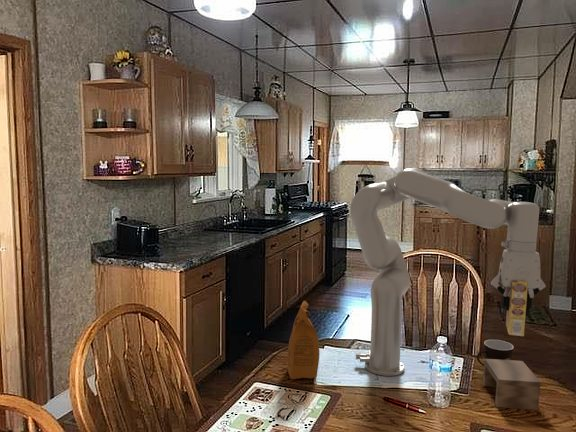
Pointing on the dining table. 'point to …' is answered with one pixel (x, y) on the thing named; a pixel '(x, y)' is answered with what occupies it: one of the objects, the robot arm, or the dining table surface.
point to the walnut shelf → (512, 383)
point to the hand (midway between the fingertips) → (515, 309)
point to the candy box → (517, 308)
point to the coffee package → (303, 347)
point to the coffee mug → (496, 350)
